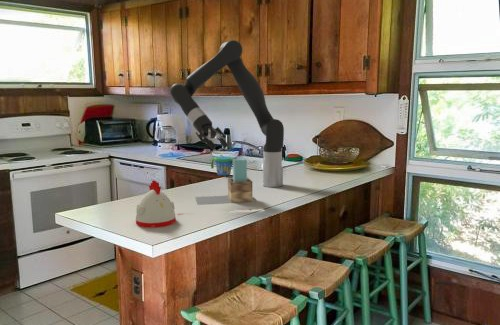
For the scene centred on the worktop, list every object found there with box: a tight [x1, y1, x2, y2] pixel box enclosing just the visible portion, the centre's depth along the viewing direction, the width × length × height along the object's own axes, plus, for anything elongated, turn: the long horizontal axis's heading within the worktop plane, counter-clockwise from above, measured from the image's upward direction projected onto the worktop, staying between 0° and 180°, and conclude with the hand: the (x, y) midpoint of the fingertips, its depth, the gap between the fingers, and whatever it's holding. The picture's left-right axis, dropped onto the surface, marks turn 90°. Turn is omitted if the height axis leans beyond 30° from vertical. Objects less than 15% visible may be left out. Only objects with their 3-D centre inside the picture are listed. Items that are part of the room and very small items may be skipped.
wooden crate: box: [227, 177, 254, 203], centre depth 184 cm, size 9×9×8 cm
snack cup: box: [210, 155, 234, 177], centre depth 248 cm, size 16×10×10 cm
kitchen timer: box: [135, 179, 177, 229], centre depth 154 cm, size 14×14×15 cm
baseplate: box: [194, 195, 256, 206], centre depth 185 cm, size 24×14×1 cm, turn 101°
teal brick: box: [232, 158, 248, 182], centre depth 183 cm, size 5×5×10 cm
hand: (220, 147), depth 187 cm, fingers open, 8 cm apart
